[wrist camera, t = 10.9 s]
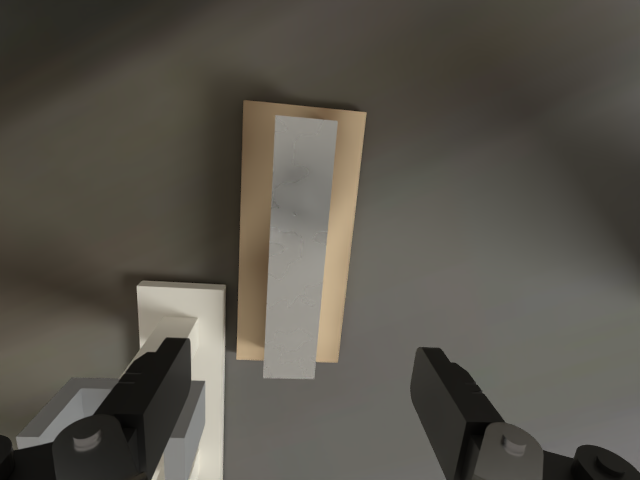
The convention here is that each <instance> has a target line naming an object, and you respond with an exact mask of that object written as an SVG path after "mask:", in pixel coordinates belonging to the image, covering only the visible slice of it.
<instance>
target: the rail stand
mask: <svg viewBox="0 0 640 480" xmlns="http://www.w3.org/2000/svg"><path fill="white" fill-rule="evenodd" d="M137 301H138V319H139V337H140V350H139V351H138V353H137V354H136V356H135V357H134V358H133V360H132V361H131V362H130V364H129V365H128V366H127V368H126V369H125V370H124V372H123V373H122V375H121V376H120V377H119V379H110V378H71V379H70V380H69V381H68V382H67V383H66V384H65V385H64V386H63V387H62V388H61V389H60V390H59V392H58V393H57V394H56V395H55V396H54V397H53V398H52V399H51V400H50V401H49V402H48V403H47V404H46V405H45V406H44V408H43V409H42V410H41V411H40V412H39V413H38V414H37V415H36V416H35V417H34V418H33V419H32V420H31V421H30V423H29V424H28V425H27V426H26V427H25V428H24V429H23V430H22V431H21V432H20V433H19V434H18V435H17V436H16V439H17V445H18V450H19V449H23V448H28V447H32V446H37V445H41V444H46V443H50V442H53V441H54V440H55V438H56V437H57V435H58V434H59V433H60V432H61V431H62V430H63V429H64V428H66V427H67V426H69V425H70V424H72V423H73V422H75V421H77V420H80V419H82V418H85V417H88V416H92V415H93V414H94V413H95V411H96V410H97V409H98V407H99V406H100V405H101V403H102V402H103V401H104V399H105V398H106V397H107V395H108V394H109V393H110V392H111V390H112V389H113V388H114V386H115V385H116V384H117V383H118V382H119V380H120V378H121V377H122V376H123V374H125V372H126V371H127V369H128V368H129V367H130V365H131V364H132V363H133V361H134V360H136V359H137V358H139V357H140V356H142V355H143V354H145V353H146V352H156V351H157V349H158V348H159V346H160V345H161V343H162V342H163V341H164V339H165V338H167V337H172V338H189V339H190V342H191V386H190V391H189V395H188V397H187V400H186V402H185V404H184V407H183V409H182V411H181V413H180V416H179V418H178V420H177V423H176V425H175V427H174V429H173V432H172V434H171V436H170V438H169V441H168V443H167V445H166V448H165V450H164V452H163V454H162V457H161V459H160V461H159V464H158V466H157V468H156V470H155V473H154V475H153V477H152V479H151V480H223V434H224V375H225V315H226V285H223V284H202V283H182V282H162V281H141V282H140V283H139V284H138V285H137Z"/></svg>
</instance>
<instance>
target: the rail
mask: <svg viewBox="0 0 640 480" xmlns="http://www.w3.org/2000/svg"><path fill="white" fill-rule="evenodd" d="M337 125H338V121H333V120H323V119H312V118H301V117H290V116H280V115H275V135H274V156H273V178H272V199H271V221H270V242H269V264H268V285H267V306H266V328H265V349H264V371H263V378H290V379H314V375H315V365H316V354H317V343H318V332H319V321H320V310H321V299H322V288H323V277H324V266H325V256H326V245H327V234H328V223H329V212H330V201H331V190H332V179H333V168H334V157H335V146H336V136H337Z"/></svg>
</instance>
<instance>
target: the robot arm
mask: <svg viewBox="0 0 640 480" xmlns="http://www.w3.org/2000/svg"><path fill="white" fill-rule="evenodd" d="M190 386H191V342H190V339H189V338H172V337H167V338H165V339H164V341H163V342H162V343H161V345H160V346H159V348H158V349H157V351H156V352H146V353H145V354H143V355H142V356H140V357H139V358H137V359H136V360H134V361H133V363H132V364H131V365H130V367H129V368H128V369H127V371H126V372H125V374H123V376H122V377H121V378H120V380H119V382H118V383H117V384H116V385H115V386H114V388H113V389H112V390H111V392H110V393H109V394H108V395H107V397H106V398H105V399H104V401H103V402H102V403H101V405H100V406H99V407H98V409H97V410H96V411H95V413H94V414H93V415H92V416H88V417H85V418H82V419H80V420H77V421H75V422H73V423H72V424H70V425H69V426H67V427H66V428H64V429H63V430H62V431H61V432H60V433H59V434H58V435H57V437H56V438H55V440H54V441H53V442H50V443H46V444H41V445H37V446H32V447H28V448H23V449H19V450H14V451H13V448H12V442H11V440H10V439H9V438H8V437H5V436H2V435H0V480H151V479H152V477H153V475H154V473H155V470H156V468H157V466H158V464H159V461H160V459H161V457H162V454H163V452H164V450H165V448H166V445H167V443H168V441H169V438H170V436H171V434H172V432H173V429H174V427H175V425H176V423H177V420H178V418H179V416H180V413H181V411H182V409H183V407H184V404H185V402H186V400H187V397H188V395H189V391H190ZM410 392H411V399H412V402H413V405H414V407H415V409H416V412H417V414H418V416H419V418H420V421H421V423H422V425H423V428H424V430H425V432H426V434H427V437H428V439H429V441H430V443H431V446H432V448H433V450H434V452H435V455H436V457H437V459H438V461H439V464H440V466H441V468H442V470H443V473H444V475H445V477H446V479H447V480H640V473H639V472H638V471H637V470H636V469H635V468H634V467H633V466H632V465H631V464H630V463H629V462H627V461H626V460H624V459H623V458H622V457H620V456H618V455H617V454H615V453H613V452H611V451H609V450H606V449H604V448H601V447H598V446H594V445H582V446H580V447H578V448H577V450H576V453H575V456H574V459H573V458H570V457H566V456H562V455H558V454H555V453H551V452H547V451H544V450H542V448H541V446H540V444H539V443H538V442H537V441H536V440H535V438H534V437H532V436H531V435H530V434H529V433H527V432H526V431H524V430H523V429H521V428H519V427H517V426H514V425H512V424H508V423H505V421H504V420H503V419H502V417H501V416H500V414H499V413H498V412H497V410H496V409H495V408H494V406H493V405H492V404H491V402H490V401H489V400H488V398H487V397H486V396H485V394H483V393H482V390H481V389H480V388H479V386H478V385H476V382H475V381H474V380H473V378H472V377H471V376H470V374H469V373H468V372H467V371H466V370H464V369H463V368H462V367H460V366H459V365H458V364H456V363H451V362H450V361H449V359H448V358H447V357H446V355H445V354H444V352H443V351H442V350H441V349H440V348H429V347H419V348H418V349H417V351H416V355H415V361H414V367H413V373H412V379H411V385H410Z"/></svg>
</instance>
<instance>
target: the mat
mask: <svg viewBox="0 0 640 480" xmlns="http://www.w3.org/2000/svg"><path fill="white" fill-rule="evenodd" d="M366 113H367V112H358V111H348V110H338V109H328V108H318V107H308V106H298V105H288V104H278V103H268V102H258V101H248V100H243V137H242V174H241V211H240V248H239V285H238V322H237V359H236V360H264V349H265V328H266V306H267V285H268V264H269V242H270V221H271V199H272V178H273V156H274V135H275V115H280V116H290V117H301V118H312V119H323V120H333V121H338V125H337V136H336V146H335V157H334V168H333V179H332V190H331V201H330V212H329V223H328V234H327V245H326V256H325V266H324V277H323V288H322V299H321V310H320V321H319V332H318V343H317V354H316V362H338V356H339V347H340V339H341V330H342V321H343V313H344V304H345V295H346V286H347V278H348V269H349V260H350V252H351V243H352V234H353V226H354V217H355V208H356V199H357V191H358V182H359V173H360V165H361V156H362V147H363V139H364V130H365V121H366Z"/></svg>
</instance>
